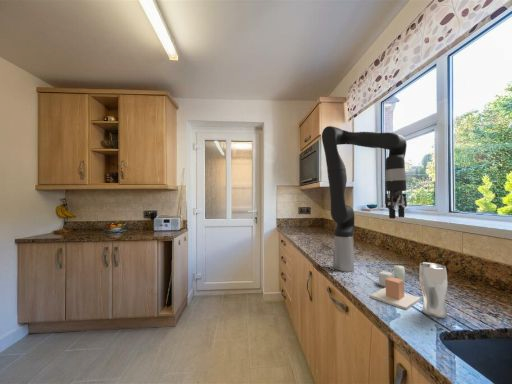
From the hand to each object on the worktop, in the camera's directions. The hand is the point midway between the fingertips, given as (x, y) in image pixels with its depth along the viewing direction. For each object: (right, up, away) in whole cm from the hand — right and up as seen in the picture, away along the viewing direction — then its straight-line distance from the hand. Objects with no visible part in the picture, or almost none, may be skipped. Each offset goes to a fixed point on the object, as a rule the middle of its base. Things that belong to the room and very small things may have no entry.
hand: (397, 217), depth 96 cm
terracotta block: (-10, -27, -14) cm, 32 cm away
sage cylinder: (+3, -28, +4) cm, 29 cm away
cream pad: (-10, -28, -14) cm, 33 cm away
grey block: (-5, -28, -1) cm, 29 cm away
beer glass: (-4, -28, -25) cm, 37 cm away
